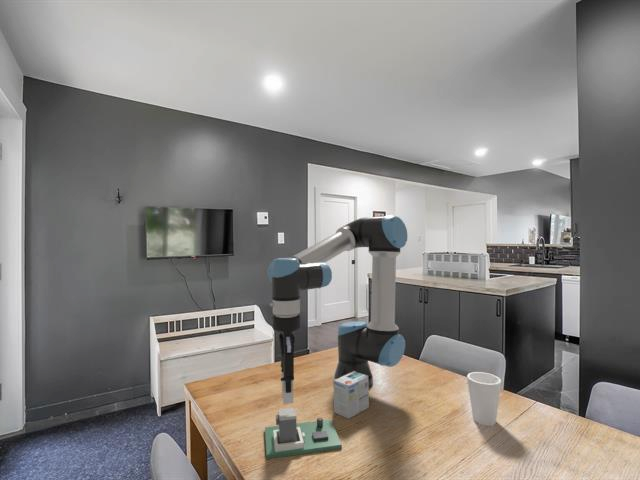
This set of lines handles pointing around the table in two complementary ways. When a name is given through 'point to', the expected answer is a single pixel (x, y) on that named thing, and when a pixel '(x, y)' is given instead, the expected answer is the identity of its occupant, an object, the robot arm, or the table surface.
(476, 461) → the table surface
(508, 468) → the table surface
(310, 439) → the board
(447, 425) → the table surface
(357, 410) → the light bulb box
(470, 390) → the foam cup
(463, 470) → the table surface
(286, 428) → the block
